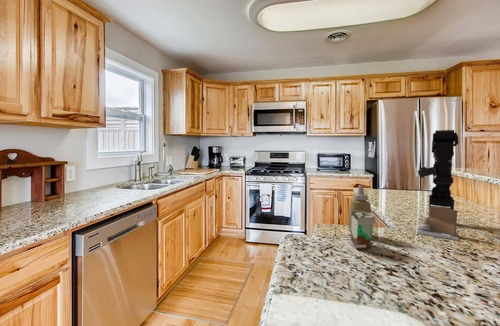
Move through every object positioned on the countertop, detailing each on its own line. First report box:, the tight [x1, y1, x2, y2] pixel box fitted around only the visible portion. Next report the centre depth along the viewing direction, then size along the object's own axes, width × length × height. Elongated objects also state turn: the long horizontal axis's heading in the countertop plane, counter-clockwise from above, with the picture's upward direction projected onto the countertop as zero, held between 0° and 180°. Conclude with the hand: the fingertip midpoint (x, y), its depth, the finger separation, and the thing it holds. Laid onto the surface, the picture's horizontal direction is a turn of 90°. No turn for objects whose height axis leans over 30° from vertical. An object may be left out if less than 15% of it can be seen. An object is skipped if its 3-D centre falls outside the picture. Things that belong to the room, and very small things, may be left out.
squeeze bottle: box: [347, 184, 372, 234], centre depth 94 cm, size 8×8×18 cm
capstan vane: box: [419, 205, 458, 235], centre depth 98 cm, size 4×12×9 cm, turn 32°
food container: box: [350, 210, 376, 251], centre depth 82 cm, size 12×6×10 cm, turn 168°
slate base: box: [417, 225, 460, 242], centre depth 99 cm, size 14×12×1 cm
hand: (441, 199), depth 106 cm, fingers closed
